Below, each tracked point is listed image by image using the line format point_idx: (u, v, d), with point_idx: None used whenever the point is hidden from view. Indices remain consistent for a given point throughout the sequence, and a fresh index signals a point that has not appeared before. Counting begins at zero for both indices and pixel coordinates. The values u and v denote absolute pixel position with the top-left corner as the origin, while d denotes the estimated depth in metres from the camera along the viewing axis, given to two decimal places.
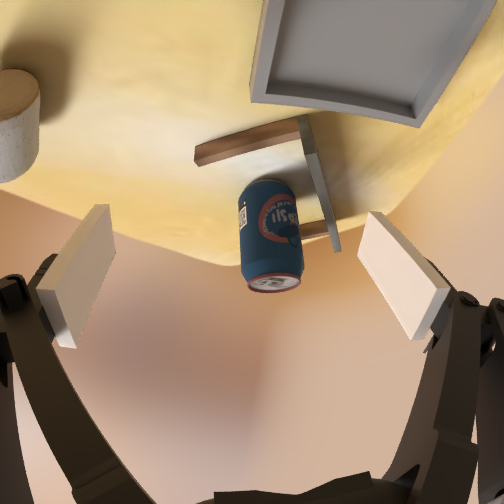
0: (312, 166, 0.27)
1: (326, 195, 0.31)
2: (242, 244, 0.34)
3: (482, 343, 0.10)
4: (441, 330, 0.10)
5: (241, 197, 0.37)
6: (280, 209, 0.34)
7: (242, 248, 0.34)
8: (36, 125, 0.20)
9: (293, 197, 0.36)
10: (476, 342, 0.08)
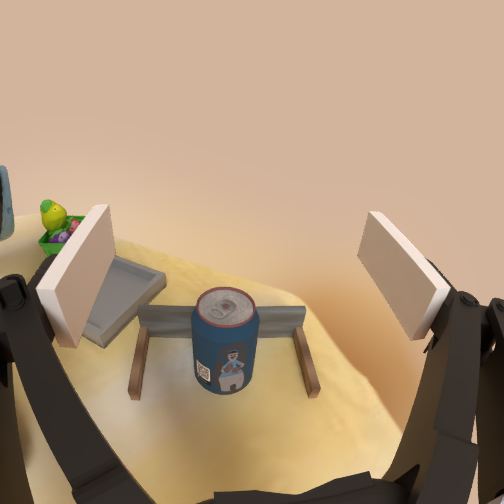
0: (150, 308, 0.38)
1: (189, 306, 0.40)
2: (202, 353, 0.30)
3: (482, 343, 0.10)
4: (441, 330, 0.10)
5: (202, 384, 0.33)
6: None
7: (202, 351, 0.30)
8: None
9: None
10: (476, 342, 0.08)
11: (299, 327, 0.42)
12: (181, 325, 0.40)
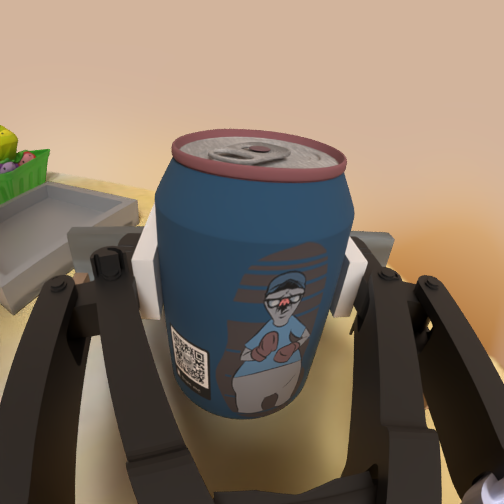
0: (90, 231, 0.18)
1: None
2: (184, 299, 0.10)
3: None
4: (364, 310, 0.11)
5: (188, 394, 0.13)
6: None
7: (185, 289, 0.10)
8: None
9: None
10: (406, 319, 0.09)
11: None
12: None
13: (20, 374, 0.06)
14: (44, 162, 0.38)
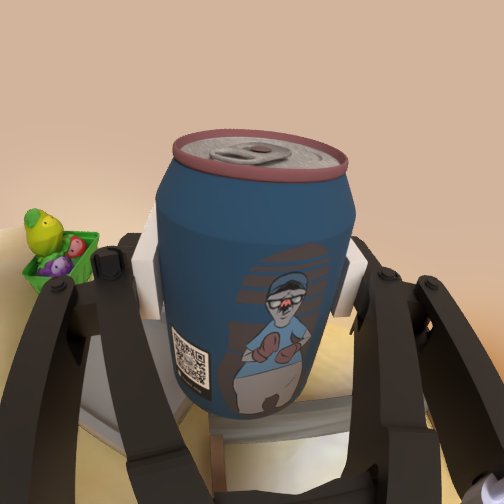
0: None
1: (301, 403, 0.21)
2: (185, 300, 0.10)
3: None
4: (364, 310, 0.11)
5: (189, 395, 0.13)
6: None
7: (186, 290, 0.09)
8: None
9: None
10: (406, 319, 0.09)
11: None
12: (283, 428, 0.22)
13: (20, 374, 0.06)
14: (94, 248, 0.40)
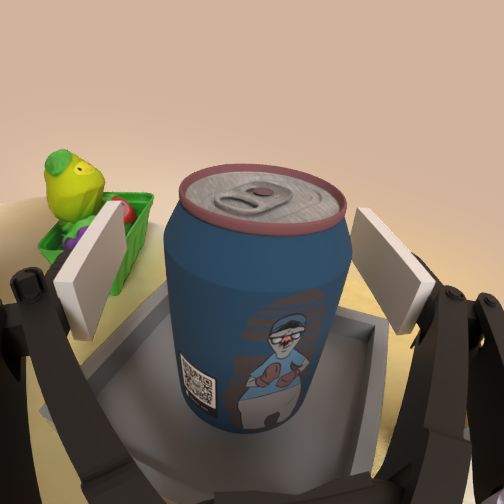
0: None
1: None
2: (194, 335, 0.10)
3: (469, 338, 0.10)
4: (427, 325, 0.11)
5: (196, 412, 0.14)
6: None
7: (195, 326, 0.10)
8: None
9: None
10: (464, 336, 0.08)
11: None
12: None
13: None
14: (147, 215, 0.29)
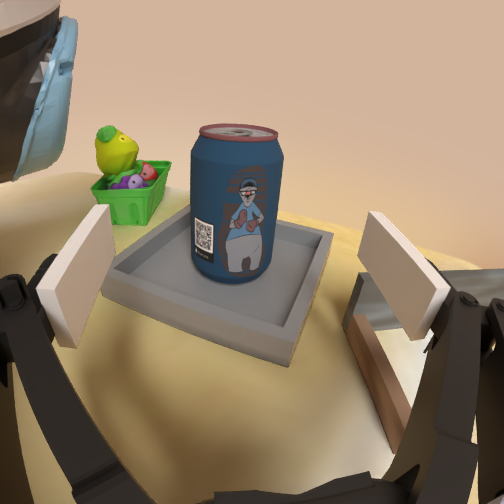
0: None
1: None
2: (204, 196, 0.22)
3: (481, 343, 0.10)
4: (441, 330, 0.10)
5: (200, 265, 0.25)
6: None
7: (204, 190, 0.21)
8: None
9: None
10: (476, 342, 0.08)
11: None
12: None
13: None
14: (166, 175, 0.40)
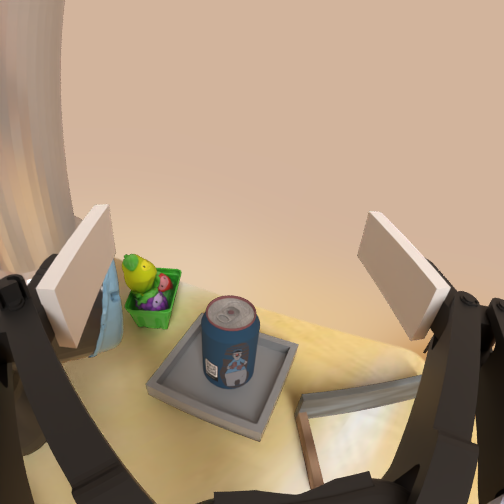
0: (316, 397, 0.34)
1: (353, 388, 0.36)
2: (211, 353, 0.35)
3: (481, 343, 0.10)
4: (441, 330, 0.10)
5: (210, 380, 0.39)
6: None
7: (211, 351, 0.35)
8: None
9: None
10: (476, 342, 0.08)
11: None
12: (341, 405, 0.36)
13: None
14: None
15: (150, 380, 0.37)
